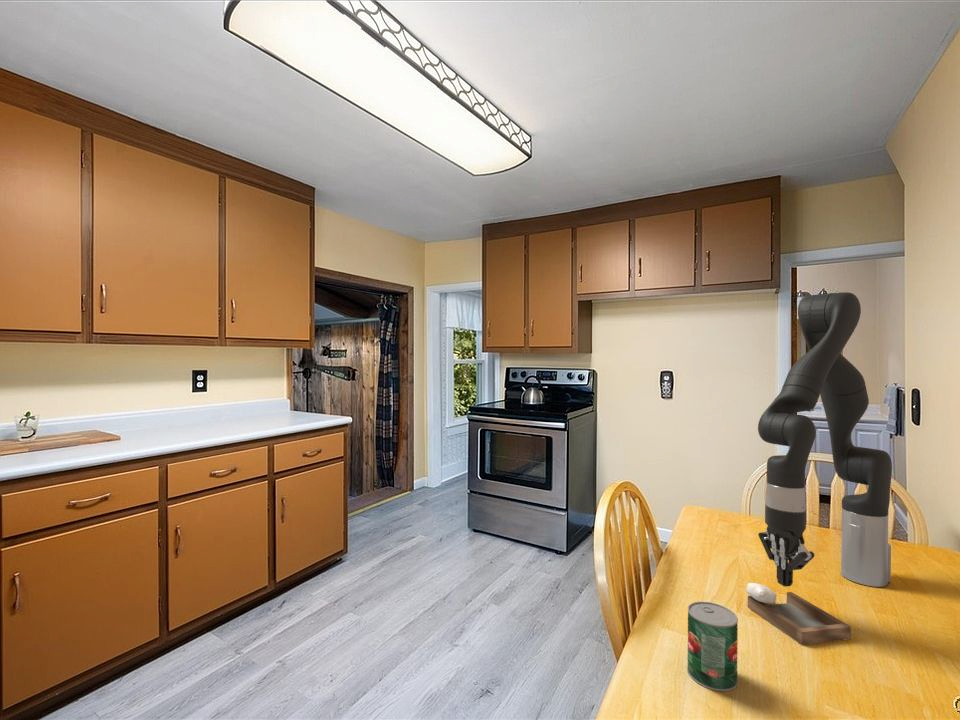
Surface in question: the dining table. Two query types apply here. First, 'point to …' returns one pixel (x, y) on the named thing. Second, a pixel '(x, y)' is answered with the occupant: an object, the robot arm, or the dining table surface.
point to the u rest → (802, 620)
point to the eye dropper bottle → (761, 593)
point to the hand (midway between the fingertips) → (784, 584)
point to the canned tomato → (712, 646)
